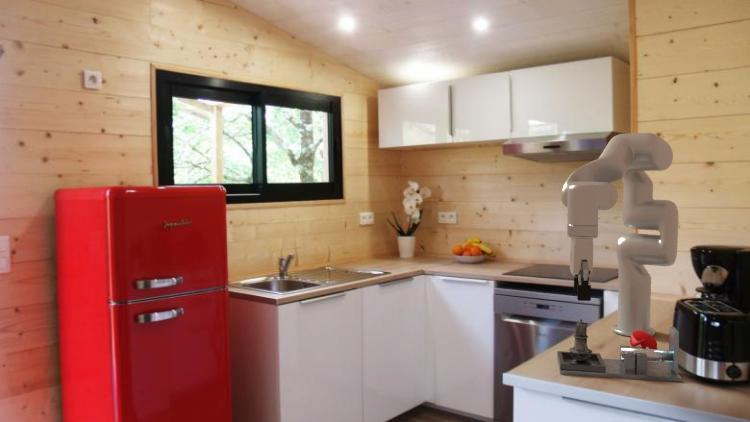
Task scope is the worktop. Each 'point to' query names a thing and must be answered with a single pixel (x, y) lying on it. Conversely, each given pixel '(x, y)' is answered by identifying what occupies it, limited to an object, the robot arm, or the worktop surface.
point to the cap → (643, 340)
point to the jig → (619, 367)
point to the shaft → (661, 351)
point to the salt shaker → (580, 345)
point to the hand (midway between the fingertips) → (582, 296)
